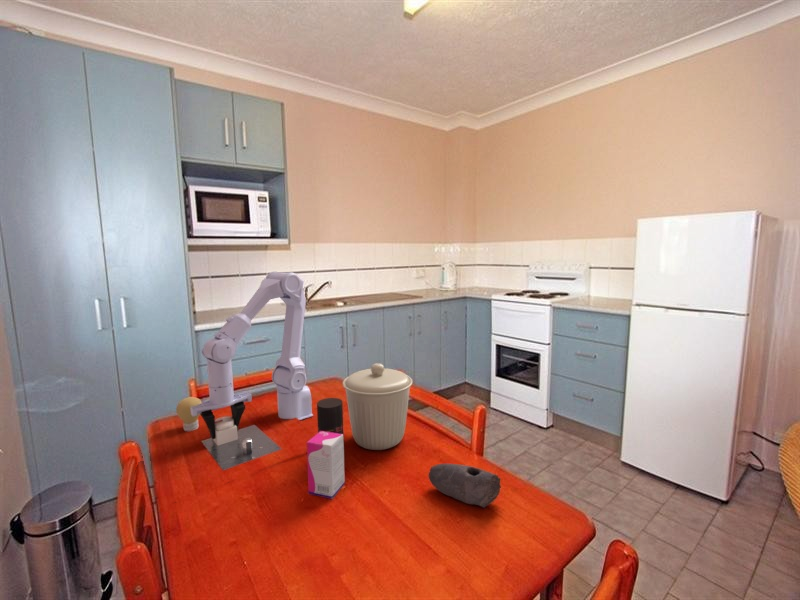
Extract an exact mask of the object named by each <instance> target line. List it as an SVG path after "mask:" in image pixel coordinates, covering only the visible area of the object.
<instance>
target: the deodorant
mask: <svg viewBox="0 0 800 600" xmlns="http://www.w3.org/2000/svg"><path fill="white" fill-rule="evenodd" d="M343 407H344V406H343V400H342V399H340V398H337V397H327V398H322V399H320V400H318V401H317V403H316V411H317V412H316V413H317V414H316V415H317V417H316V419H317V434H318V433H319V432H320V431H325V432H331V433H338V434H343V443H344V444H345V442H344V440H345V439H344V408H343Z"/></svg>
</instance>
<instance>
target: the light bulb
mask: <svg viewBox="0 0 800 600" xmlns="http://www.w3.org/2000/svg"><path fill="white" fill-rule="evenodd" d="M201 403H203V402H202V401H201V399H200V398H197V397H194V396H189V397H188V396H187V397H184V398H183V399H181V400H180V401H179V402H178V403H177V405H176V408H175V410H176V411H175V412H176V415H177V417H178V418H179V419H180V420H182V424H183V425H182V426H183V427H182V428H183V430H184V431H185V432H192V431H195V430H197V429H199V427H200V426H199V417H200V416H201V415H200V414H197V416H192V415H191V409H190V407H192V406H196V405H198V404H201Z"/></svg>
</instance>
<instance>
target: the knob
mask: <svg viewBox="0 0 800 600" xmlns="http://www.w3.org/2000/svg"><path fill="white" fill-rule="evenodd" d="M215 434H216V438H215V439H213V441H214V442H215V443H216V444H217V445H222V444H225V443H228V442H231V441H234V440H237V439H238V434H237V426H236V425H235V424H234V418H233V417H232V416H221V417H218V418H215Z"/></svg>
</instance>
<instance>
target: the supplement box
mask: <svg viewBox="0 0 800 600" xmlns="http://www.w3.org/2000/svg"><path fill="white" fill-rule="evenodd" d="M343 436H344V433H343V434H338V433H331V432H325V431H320V432H319V433H318V432H317V433H316V434H315V435H314V436H313V437H311V438H310V439H309V440H308V441H307V442H306V451H307V452H306V453H307V454H306V455H307V456H306V457H307V480H308V484H307V485H308V494H309V495H311V496H312V495H313V496H317V497H322V498H326V499H329V500H333V499H334V498H335V497H336V495H338V492H340V490H341V489H342V488H343V486H344V485H345V484H346V482H345V481H346V477H345V446H344V445H345V442H344V443H343Z"/></svg>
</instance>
